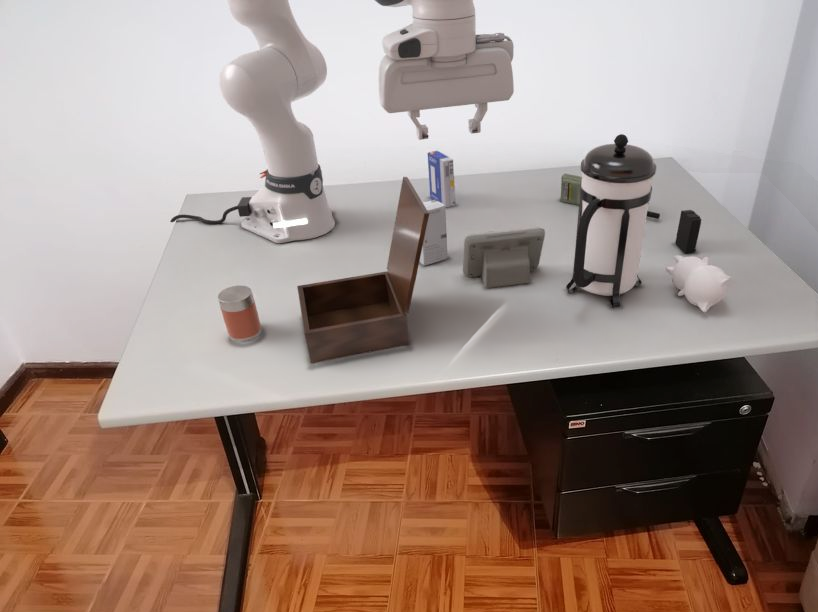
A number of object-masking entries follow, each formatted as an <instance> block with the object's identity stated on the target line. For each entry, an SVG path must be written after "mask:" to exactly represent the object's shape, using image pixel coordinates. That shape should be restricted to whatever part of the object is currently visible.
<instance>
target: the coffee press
mask: <svg viewBox="0 0 818 612" xmlns="http://www.w3.org/2000/svg"><path fill="white" fill-rule="evenodd" d="M613 142H614V143H608V144H602V145H598V146H596V147H594V148H592V149H591V150H589V151H588V152H587V153H586V154H585V157H584V158H583V159H582V160H581V161H580V171H581V177H582V181H581V183H580V191H579V195H580V202H579V205H578V213H577V225H576V234H575V235H576V236H575V248H574V258H573V268H572V269H573V270H572V277H571V279H570V281H569V282H568V283H567V284H566V286H565V289H566V291H567V292H568V294H574V293H576V292H577V291H578V290H579V289H582V290H584V291H585V292H587V293H590V294H593V295H597V296H605V297H606V296H607V297H608V298H609V302H610V307H611V308H618V307H619V308H620V307H621V296H620V295H622V294H625V293H627V292H629V291H630V290H631V289H633V288H634V287H635V288H638V287H640V286H641V285H642V279H640V277H639V274H638V273H639V268H640V262H641V255H642V248H643V241H644V235H645V229H646V222H647V211H649V210H648V209H649V204H650V203H649V202H650V201H651V199H652V192H653V186H652V184H653V177H654V176H655V175H656V173H657V165H656V162H654V157H653V156H652V155H651V154H650V153H649V152H648V151H647V150H645V149H644V148H642V147H639V146H637V145H633V144H628V143H629V139H628V136H627V135H625V134H623V133H620V134H618V135H617V136H615V137H614V140H613ZM574 284H575V285H574ZM572 286H573V287H572Z"/></svg>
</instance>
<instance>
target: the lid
mask: <svg viewBox="0 0 818 612" xmlns="http://www.w3.org/2000/svg"><path fill="white" fill-rule="evenodd" d="M398 199H399V200H398V204H397V209H396V215H395V218H394V219H395V220H394V226H393V231H392V237H391V242H390V248H389V254H388V260H387V265H386V271H388V273H389V276H390V278H391V281H392V283H393V286H394V288H395V291H396V293H397V296H398V298H399V301H400V303H401V306H402V308H403V311H404V313H406V314H409V313H410V308H411V305H412V299H413V294H414V290H415V289H414V288H415V284H416V279H417V276H418V275H417V274H418V271H419V265H420V262H419V261H420V256H421V251H422V246H423V242H424V237H425V232H426V227H427V222H428V218H429V213H428V211H427V209H426V208H425V206H424V204H423V202H424V201H422V199H421V197H420V196H419V194H418V193H417V190H416V189H415V187H414V186H413V184H412V182H411V180H410V179H409V177H407V176H403V177H402V181H401V187H400V193H399V197H398Z"/></svg>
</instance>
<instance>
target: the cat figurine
mask: <svg viewBox="0 0 818 612" xmlns="http://www.w3.org/2000/svg"><path fill="white" fill-rule="evenodd" d="M673 259H674V260H673V261H675V263H676V264H675V266H672V265H671V266H667V267H666V268H665V271H666V273H668V274H669V275H670V276H671V281H672V283H673V285H674V287H675V288H676V289H678V290H680V291H679V292H678V293H677V295H678V296H679V297H683V296H685V298H686V300H687V301H688V302H689V303H690V304H691V305H693V306H695V307H698V308H699V309H700V310H701V311H702V312H703V313H707V312H708V311H709V309H710V308H711V307H712V306H715V305H717V304H718V303H720V302H721V301H722V300H723V299H724V298H725V296H726V295H727V292H728V288H729V282H730V281H731V279H732V276H729V275H727V274H726V273H725V271H724V270H723V269H721V268H720V267H719V266H717V265H716V266H715V265H713V264H708V263H709V258H708V256H703V258H702V259H701V258H699V257H698V256H687V257H685V256H681V255H679V254H677V255H674V256H673Z"/></svg>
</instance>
